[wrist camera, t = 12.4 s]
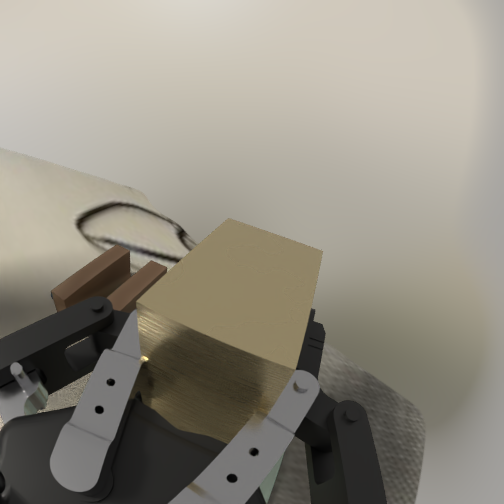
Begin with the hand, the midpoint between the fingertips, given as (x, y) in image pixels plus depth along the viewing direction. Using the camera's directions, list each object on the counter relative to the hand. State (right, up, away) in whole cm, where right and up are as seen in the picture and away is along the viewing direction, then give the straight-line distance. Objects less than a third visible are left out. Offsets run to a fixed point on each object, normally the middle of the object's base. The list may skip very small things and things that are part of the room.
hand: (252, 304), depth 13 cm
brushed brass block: (-2, -7, +1) cm, 7 cm away
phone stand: (-14, -3, +13) cm, 20 cm away
